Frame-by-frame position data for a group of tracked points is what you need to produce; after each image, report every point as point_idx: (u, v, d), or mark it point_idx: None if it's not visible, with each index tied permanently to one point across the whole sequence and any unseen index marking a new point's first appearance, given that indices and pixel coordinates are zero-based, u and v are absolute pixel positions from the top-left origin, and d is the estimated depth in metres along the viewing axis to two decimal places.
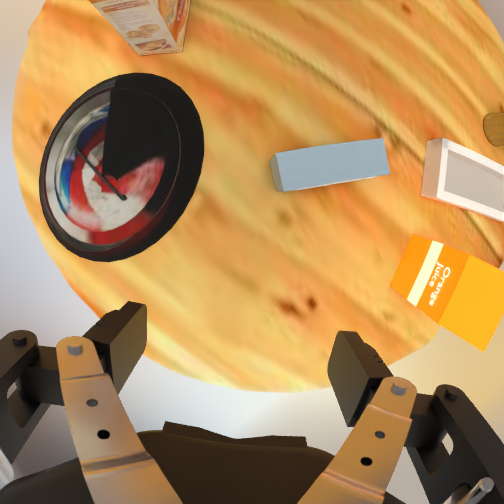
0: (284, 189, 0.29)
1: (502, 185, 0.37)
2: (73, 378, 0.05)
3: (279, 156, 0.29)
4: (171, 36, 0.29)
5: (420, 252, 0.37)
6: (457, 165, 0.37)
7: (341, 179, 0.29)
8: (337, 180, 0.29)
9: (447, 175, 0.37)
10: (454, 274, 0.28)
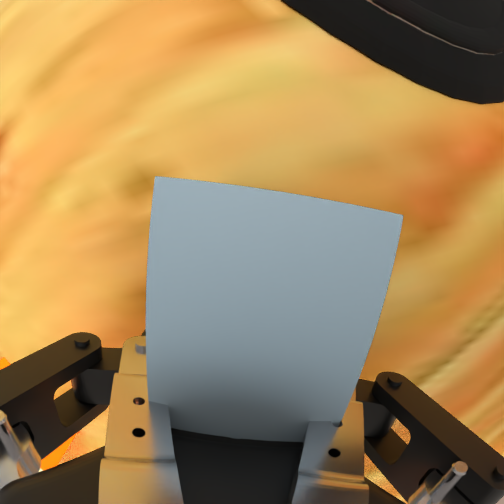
0: (167, 185, 0.04)
1: None
2: (128, 375, 0.06)
3: (381, 230, 0.04)
4: None
5: None
6: None
7: None
8: None
9: None
10: None
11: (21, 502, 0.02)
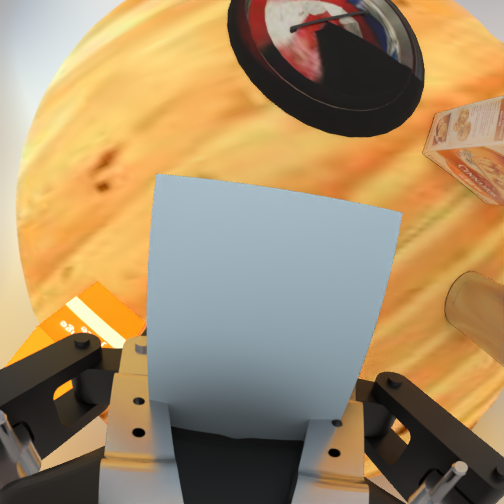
0: (168, 183, 0.04)
1: None
2: (128, 375, 0.06)
3: (381, 227, 0.05)
4: (446, 148, 0.28)
5: (122, 325, 0.33)
6: None
7: None
8: None
9: None
10: None
11: (21, 502, 0.02)
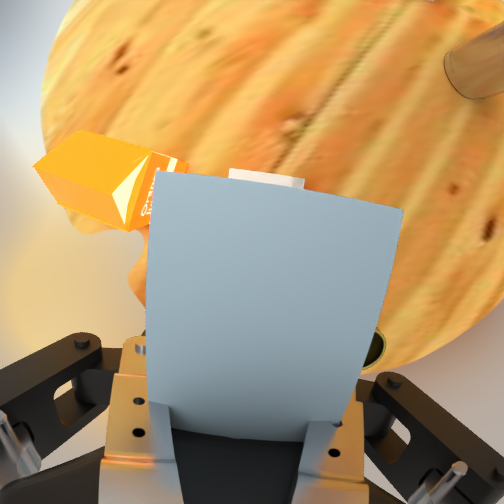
0: (167, 179, 0.04)
1: None
2: (128, 375, 0.06)
3: (382, 225, 0.04)
4: None
5: None
6: None
7: None
8: None
9: None
10: None
11: (21, 502, 0.02)
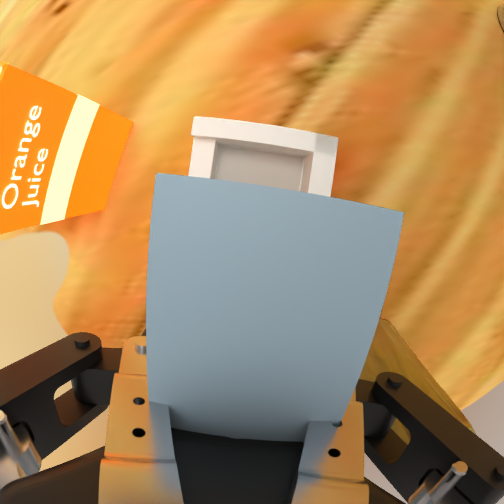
0: (168, 182, 0.04)
1: None
2: (128, 375, 0.06)
3: (382, 227, 0.04)
4: None
5: None
6: None
7: None
8: None
9: None
10: None
11: (21, 502, 0.02)
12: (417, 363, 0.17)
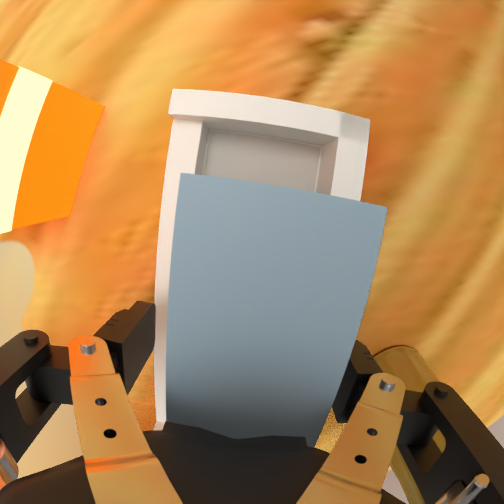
0: (191, 180, 0.05)
1: None
2: (83, 377, 0.05)
3: (369, 219, 0.05)
4: None
5: None
6: None
7: None
8: (172, 417, 0.06)
9: None
10: None
11: None
12: None
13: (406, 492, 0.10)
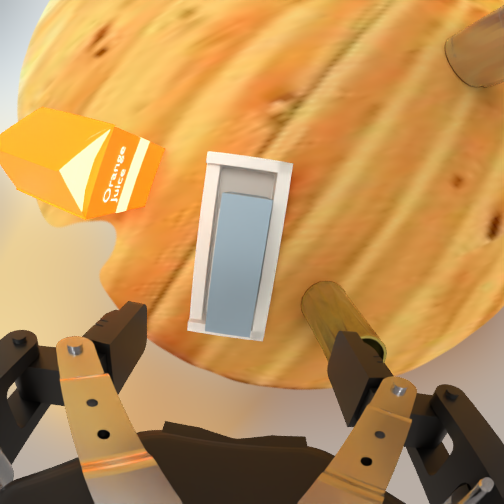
0: (224, 194, 0.23)
1: None
2: (73, 378, 0.05)
3: (267, 203, 0.23)
4: None
5: None
6: None
7: (214, 268, 0.24)
8: (214, 263, 0.24)
9: (243, 192, 0.33)
10: None
11: None
12: (350, 305, 0.30)
13: (322, 347, 0.28)
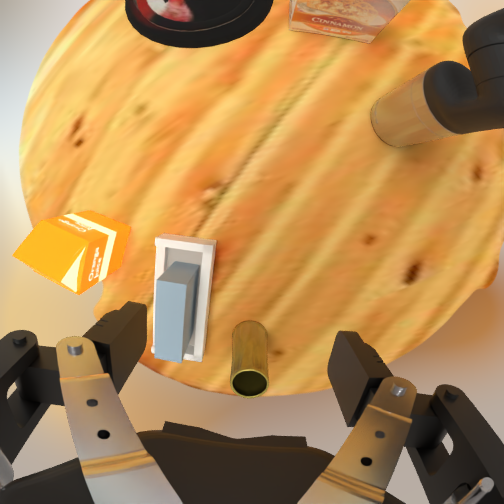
0: (158, 280, 0.37)
1: (190, 341, 0.50)
2: (73, 378, 0.05)
3: (183, 286, 0.37)
4: (292, 13, 0.34)
5: (110, 225, 0.43)
6: None
7: (156, 323, 0.38)
8: (156, 320, 0.38)
9: (184, 261, 0.47)
10: (77, 233, 0.34)
11: None
12: (256, 343, 0.44)
13: None
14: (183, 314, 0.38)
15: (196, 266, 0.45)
